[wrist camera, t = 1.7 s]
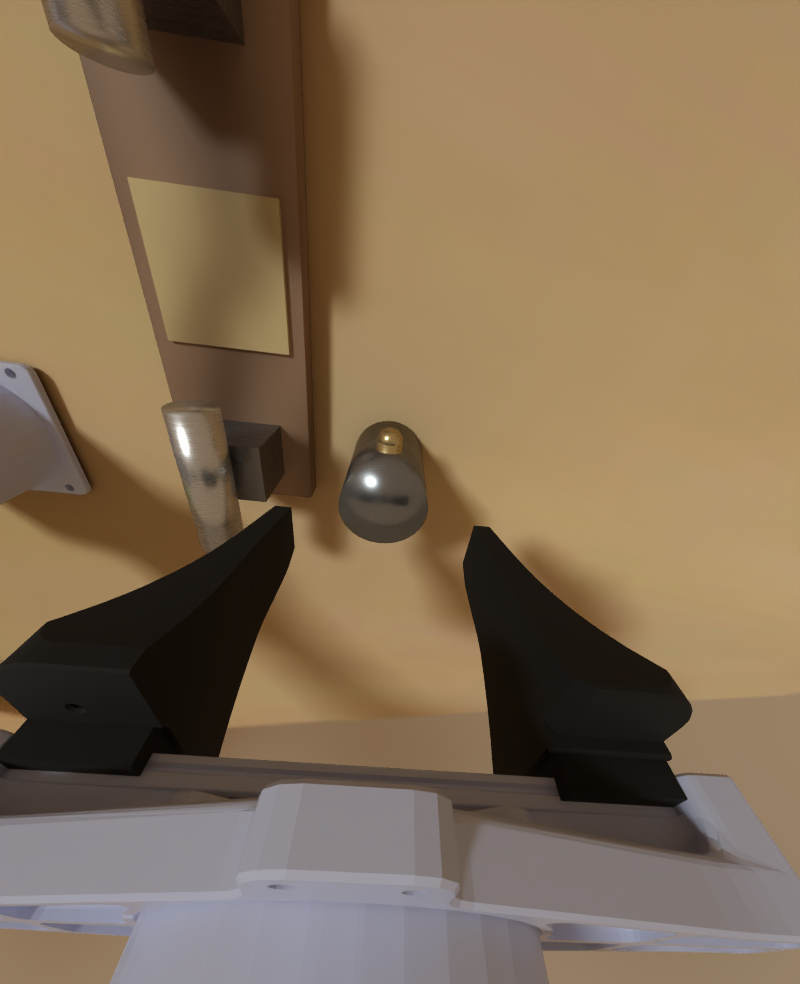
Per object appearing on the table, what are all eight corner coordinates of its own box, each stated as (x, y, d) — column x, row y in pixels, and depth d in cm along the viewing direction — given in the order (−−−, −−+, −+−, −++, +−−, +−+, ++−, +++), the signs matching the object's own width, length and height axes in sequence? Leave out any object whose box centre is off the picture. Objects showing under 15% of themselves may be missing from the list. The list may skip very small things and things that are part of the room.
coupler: (354, 491, 21) (337, 554, 16) (357, 400, 18) (339, 442, 12) (414, 497, 21) (417, 561, 16) (428, 408, 18) (439, 453, 13)
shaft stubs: (222, 495, 20) (171, 550, 15) (42, -319, 7) (-440, -1137, 3) (287, 501, 20) (255, 558, 15) (214, -282, 8) (-22, -1004, 3)
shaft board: (206, 476, 20) (193, 487, 19) (36, -219, 9) (-23, -301, 7) (315, 487, 21) (310, 499, 19) (292, -168, 9) (276, -239, 8)
